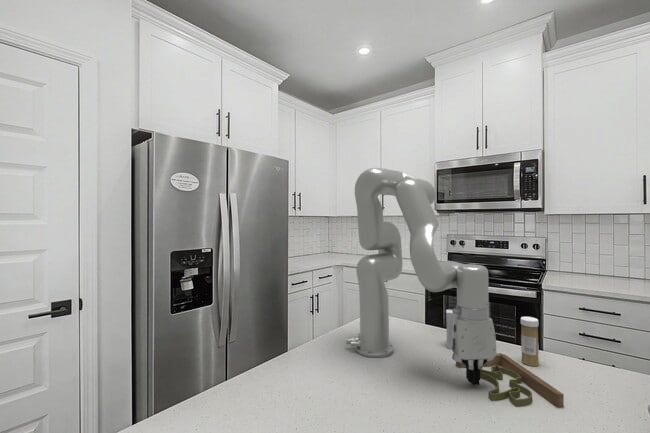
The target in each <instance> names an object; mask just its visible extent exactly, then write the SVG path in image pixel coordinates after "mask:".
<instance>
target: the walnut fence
mask: <svg viewBox="0 0 650 433" xmlns="http://www.w3.org/2000/svg"><path fill="white" fill-rule="evenodd" d="M495 365H498V366H499V367H502V368H506V369H509V370H512V371H514V372H515V373H517V374H518V375H519V376H521V377H522V383H523V384H524V385H527V387H528V388H531V389H532V391H534V392H536V393H537V394H538V395H539V396H541V397H542V398H544V399H545V400H546V401H547V402H549V403H550V404H552V405H553V406H555V407H556V408H564V406H565V405H564V402H565V400H564V397H565V396H564V393H562V392H561V391H559V389H557V388H555V387H554V386H553V385H550V383H548V382H546V381H545V380H543V379H542V378H541V377H539V376H538V375H536V374H534V373H533V372H532V371H530V370H528V369H527V368H525V367H524V366H523V365H521V364H520V363H518V362H517V361H515V360H514V359H512V358H511V357H510V356H508V355H507V354H505V353H504V354H503V353H500V352H498V353H496V357H494V359H493V360H491V361H487V362H486V363H485V364H484V365H483V367H494V366H495ZM455 366H456V367H457V368H458V369H461V368H462V369H463V368H466V366H465V365H464V364H463V363H460V362H456V361H455Z"/></svg>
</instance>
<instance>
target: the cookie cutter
mask: <svg viewBox="0 0 650 433" xmlns="http://www.w3.org/2000/svg"><path fill="white" fill-rule="evenodd" d="M490 367H491V368H490V369H491V370H487V369H483V368H482V369H481V370H480V380H481V379H482V380H484V381H487V382H489V383H491V384H493V385H494V387H495V388H494V389H491V390H489V391H487V392H488V395H487V396H488V399H489V400H490V401H491V402H499V401H503V400H506V399H508V400H509V401H510V403H511V404H512V405H513V406H514V407H515V408H516V407H517V408H519V407H520V408H522V407H527V406H530V405H531V404H532V403H533V392H532V391H531V390H530V389H529V388H527V387H525V386H523V385H522V384H523V382H522V377H521V376H519V375H518V374H517V373H515V372H514V371H512V370H509V369H506V368H503V367H502V366H498V365H495V366H490ZM504 375H506V376H509V377H512V378H511V379H509V381H508V383H509V388H510V389H507V390H505V391H502V392H500V383H499V381H503V380H504V379H503V377H504ZM521 393H522V394H523V395H525V396H527V397H525V398H520V397H521Z"/></svg>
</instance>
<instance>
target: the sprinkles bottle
mask: <svg viewBox="0 0 650 433" xmlns="http://www.w3.org/2000/svg"><path fill="white" fill-rule="evenodd" d="M539 324H540V322H539V319H538V318H536V317H533V316H521V317H520V325H521V330H520V331H521V334H520V341H521V342H520V343H521V344H520V345H521V347H520V348H521V350H520V352H521V358H520V359H521V363H523V365H526V366H530V367H537V366H539V365H540V362H539V350H540V349H539V348H540V347H539Z"/></svg>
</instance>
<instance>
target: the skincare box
mask: <svg viewBox="0 0 650 433" xmlns="http://www.w3.org/2000/svg"><path fill="white" fill-rule="evenodd" d="M445 314H446V315H445V318H446V319H445V320H446V348H447V349H452V330H453V323H454V319H455V316H457V314H453V312H452V309H446V310H445Z"/></svg>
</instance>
